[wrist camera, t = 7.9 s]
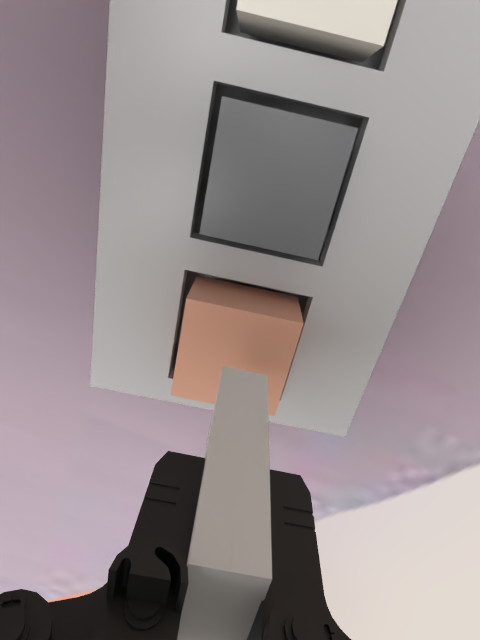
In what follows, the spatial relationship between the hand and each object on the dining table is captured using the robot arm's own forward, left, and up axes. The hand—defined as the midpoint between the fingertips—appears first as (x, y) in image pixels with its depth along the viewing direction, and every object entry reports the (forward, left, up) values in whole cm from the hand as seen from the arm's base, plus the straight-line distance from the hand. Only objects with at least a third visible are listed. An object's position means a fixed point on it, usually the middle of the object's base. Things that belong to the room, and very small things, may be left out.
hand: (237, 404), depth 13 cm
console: (-7, 0, -11) cm, 13 cm away
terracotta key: (+1, 0, -7) cm, 7 cm away
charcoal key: (-7, 0, -7) cm, 10 cm away
